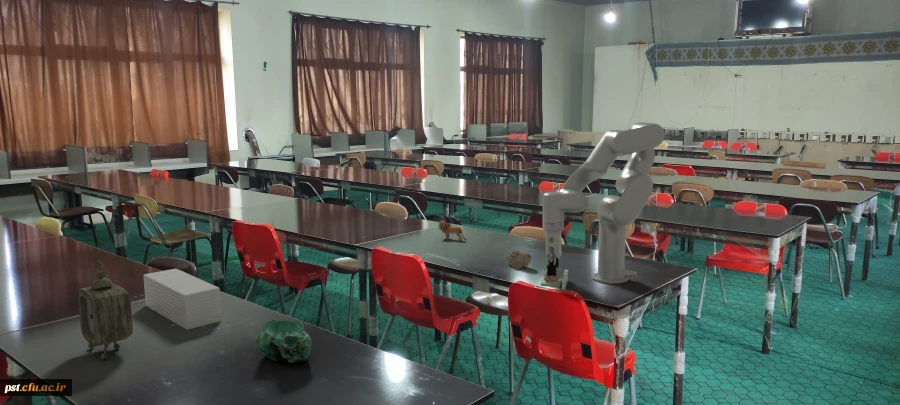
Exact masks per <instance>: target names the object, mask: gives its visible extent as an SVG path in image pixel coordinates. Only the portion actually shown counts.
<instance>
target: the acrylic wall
mask: <svg viewBox="0 0 900 405" xmlns="http://www.w3.org/2000/svg"><path fill="white" fill-rule="evenodd" d="M563 271H564V272H563V275H562V278H561V280H562V282H561V290H564V291H565V290H566V288H567V285H568V280H569V270H568V269H564V270H563Z"/></svg>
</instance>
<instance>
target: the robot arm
mask: <svg viewBox="0 0 900 405" xmlns="http://www.w3.org/2000/svg"><path fill="white" fill-rule="evenodd" d="M665 137H666V133H665V130H664V128H663V127H662V126H661V125H660V124H658V123H654V122H653V123H652V122H644V121H643V122H642V121H641V122H640V121H639V122H635V123H633V124H632V125H631V126H630V127H629V129H624V130H621V129H620V130H619V129H609V130H607V131H606V132H605V133H604V134H603V135H602V137H601V138H600V139H599V141H598V142H597V144H596V145H595V147H594V148H593V150H592V152H591V153H590V154H589V156H587V157H588V158H587V159H586V160H585V162H584V163H582V164H581V165H580V166H578V168H577V169H576V170H575V171H573V172H572V174H570V175H569V176H568V178H567V180H566V181H565V182H564V184H563V185H562V186H561V188H560V189H559V191H548V192H545V193H544V194H543V195H542V231H543V232H545V258H546V259H547V264H546V266H547V275H548V276H556V267H557V268H558V269H559V262H560V261H559V259H560V258H561V256H562V232H563V231H564V229H565V226H564V225H565V222H564V220H565V219H564V218H565V216H564V214H565V213H571V214H572V213H573V214H574V213H575V214H576V213H581V212H583V211H584V210H585V209H586V208H587V206H588V199H587V197H586V195H584V194H583V193H582V192H583V190H584V189H586V187H587V186H588V185H589V184H591V183H592V182H593V181H596V180H598V179H601V178H603V177H604V176H606V174H607V173H608V172H609V170H610V168H611V167H612V165H613V164H614V162H615V161H616V159H617V158H618V156H619V155H622V156H625V155H630V156H629V158H628V160H627V162H626V164H625V166H623V169H622V170H621V172H620V173H619V175H618V177H617V179H616V180H615V181H616V182H615V189H616V191H617V193H619V194H621V196H618V195H613V194H612V195H610V194H609V195H606V196H604V197H603V198H602V199H601V200H600V201H599V203H598V206H597V214H598V215H597V218H598V229H599V230H598V253H597V256H598V257H597V273H595V274H593V280H595V281H596V282H599V283H603V284H611V285H612V284H613V285H617V284H624V283H627V282H628V281H629V277H632V278H638V277H637V275H638V274H637V273H638V272H637V271H633V270H627V269H626V266H625V255H626V238H627V237H626V236H627V234H626V233H627V232H626V227H628V226H630V225H632V223H634V222H635V221H636V220H637V219H638V217H639V216H640V213H642V211H643V209H644V207H645V206H646V205H647V203H648V201H649V199H650V197H651V195H652V193H653V188H654V185H653V180H652V178H651V177H650V176H649V175H648V174H649V173H650V171H651V169H652V167H653V165H654V162H655V158H656V157H655V156H656V154H655V152H656V151H655V148H658V147H659V146H660V145H662V143H663V142H664V140H665Z"/></svg>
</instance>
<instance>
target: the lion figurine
mask: <svg viewBox="0 0 900 405" xmlns="http://www.w3.org/2000/svg"><path fill="white" fill-rule="evenodd" d="M437 228H438V230H440V231H441V232H442V233H443V234H445V238H444V240H448V239H450V235H454V234H455V235H456V236H457V237H458V238H457V240H458V241H459V242H462V240H465V241H467V238H465V237H464V234H463V231H462V228H461V227H460V226H459V225H457V226H452V225H451V224H450V223H449V222H448V221H445V220H440V221H438V226H437Z"/></svg>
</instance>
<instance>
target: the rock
mask: <svg viewBox="0 0 900 405" xmlns="http://www.w3.org/2000/svg"><path fill="white" fill-rule="evenodd" d="M531 258H532V256H531V254H530V253H528V252H525V251H518V250H513V251H511V252H509V255H506V258H505V259H506V262H507V264H509V265H510V266H511V267H512V268H514V269H515V270H518V271H519V270H523V269H524V268H526V267H528V266H530V263H531V262H532V259H531Z"/></svg>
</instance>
